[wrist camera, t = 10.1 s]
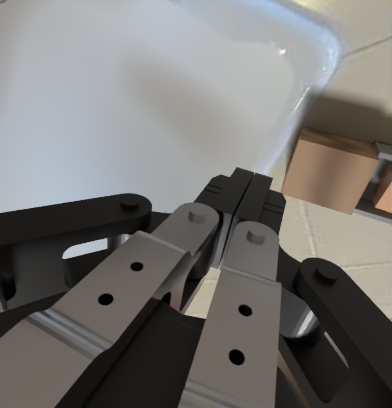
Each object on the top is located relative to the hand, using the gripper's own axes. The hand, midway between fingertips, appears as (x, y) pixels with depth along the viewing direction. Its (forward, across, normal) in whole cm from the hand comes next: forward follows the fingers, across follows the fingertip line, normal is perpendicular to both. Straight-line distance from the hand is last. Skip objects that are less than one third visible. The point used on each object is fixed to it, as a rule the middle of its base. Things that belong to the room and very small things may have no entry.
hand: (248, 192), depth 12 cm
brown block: (+32, -6, +9) cm, 34 cm away
